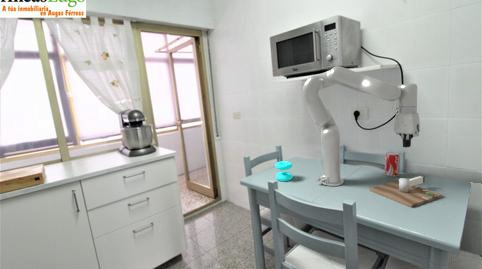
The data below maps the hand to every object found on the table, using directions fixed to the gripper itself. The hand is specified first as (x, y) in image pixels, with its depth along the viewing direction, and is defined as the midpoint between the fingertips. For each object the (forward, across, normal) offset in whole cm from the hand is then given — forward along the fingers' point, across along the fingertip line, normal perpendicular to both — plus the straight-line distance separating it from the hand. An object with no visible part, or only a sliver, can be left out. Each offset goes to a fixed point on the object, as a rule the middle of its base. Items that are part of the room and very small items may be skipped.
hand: (406, 146), depth 120 cm
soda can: (+20, -13, +7) cm, 25 cm away
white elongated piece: (+19, +6, -4) cm, 20 cm away
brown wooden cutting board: (+20, +6, -9) cm, 23 cm away
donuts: (+20, -42, -46) cm, 65 cm away
